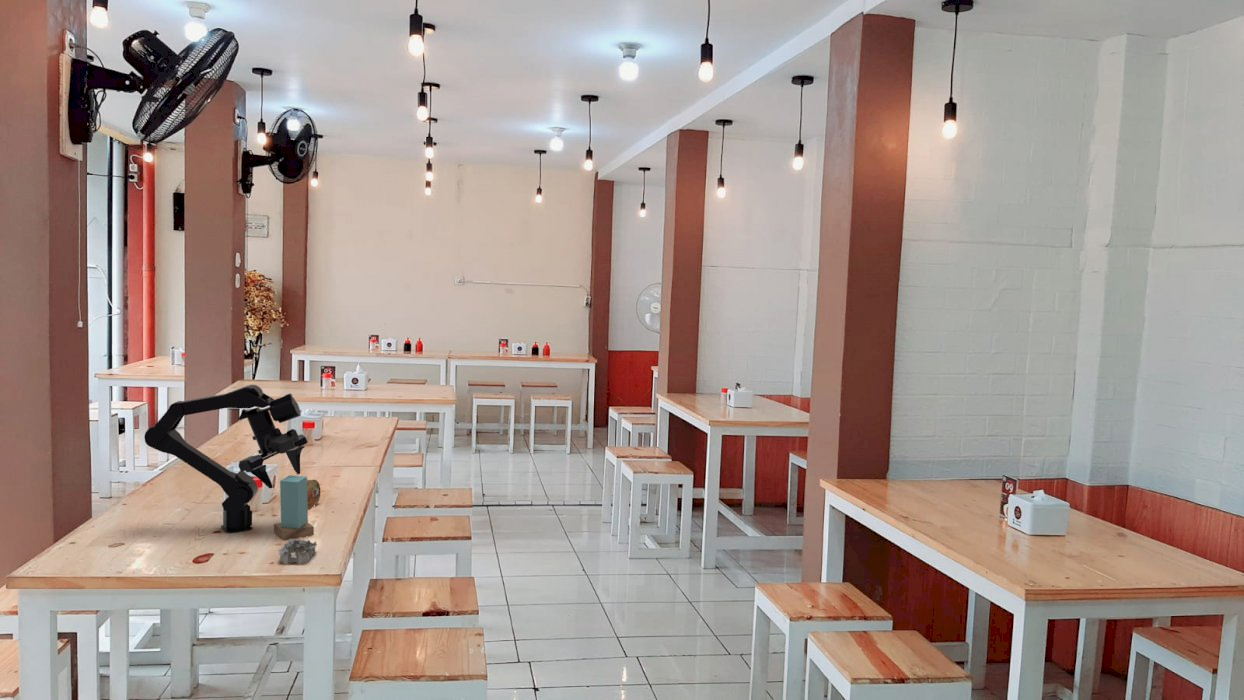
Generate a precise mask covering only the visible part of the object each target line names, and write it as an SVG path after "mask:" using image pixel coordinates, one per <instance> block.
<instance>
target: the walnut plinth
mask: <svg viewBox="0 0 1244 700" xmlns="http://www.w3.org/2000/svg"><path fill="white" fill-rule="evenodd" d="M314 532H315V528H314V526H313V524H311V523H309V522H308V523H306V524H305V525H304V526H302V527H301V528H299V529H295V528H283V527H281V522H277V523H273V533H274V534H275V535H276V536H277V537H279V538H280V539H281V540H282V539H283V540H282V541H289V540H288V539H290V538H291V539H293V538H295V539H300V538H299V537H302V538H306V536H308V537H312V536H311V535H315V534H314Z"/></svg>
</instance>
